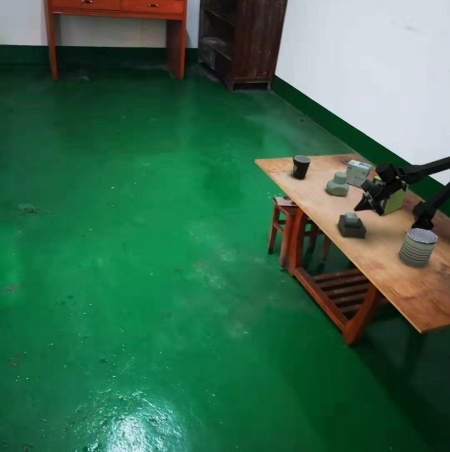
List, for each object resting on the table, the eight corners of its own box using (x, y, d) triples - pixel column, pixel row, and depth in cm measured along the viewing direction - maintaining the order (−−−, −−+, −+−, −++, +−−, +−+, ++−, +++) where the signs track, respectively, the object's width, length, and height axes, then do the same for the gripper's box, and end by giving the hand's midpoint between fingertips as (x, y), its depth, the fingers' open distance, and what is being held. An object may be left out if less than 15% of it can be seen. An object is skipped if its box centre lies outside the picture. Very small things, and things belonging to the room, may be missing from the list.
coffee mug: (308, 181, 234) (312, 163, 228) (291, 179, 233) (295, 161, 228) (305, 171, 243) (308, 153, 238) (289, 169, 243) (292, 152, 238)
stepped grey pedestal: (357, 225, 201) (361, 214, 198) (364, 238, 193) (367, 226, 189) (336, 224, 200) (339, 212, 197) (341, 236, 192) (345, 225, 189)
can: (411, 270, 177) (422, 244, 170) (392, 253, 185) (401, 228, 179) (433, 265, 181) (444, 240, 175) (413, 249, 190) (423, 224, 183)
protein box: (401, 207, 219) (411, 178, 211) (382, 216, 211) (392, 186, 202) (382, 198, 226) (392, 169, 217) (364, 206, 217) (373, 176, 209)
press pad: (354, 218, 195) (355, 213, 194) (356, 223, 192) (358, 218, 190) (344, 217, 195) (345, 212, 194) (346, 222, 191) (348, 217, 190)
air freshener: (345, 189, 230) (350, 171, 224) (348, 197, 223) (354, 179, 217) (324, 187, 229) (328, 169, 224) (326, 195, 223) (331, 176, 217)
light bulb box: (366, 184, 238) (372, 165, 232) (362, 188, 233) (368, 169, 227) (347, 177, 242) (352, 158, 236) (342, 181, 237) (347, 162, 231)
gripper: (371, 165, 190) (338, 187, 195) (385, 186, 174) (350, 209, 179) (383, 183, 195) (352, 204, 200) (398, 205, 179) (364, 227, 184)
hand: (354, 210), depth 191 cm, fingers closed
